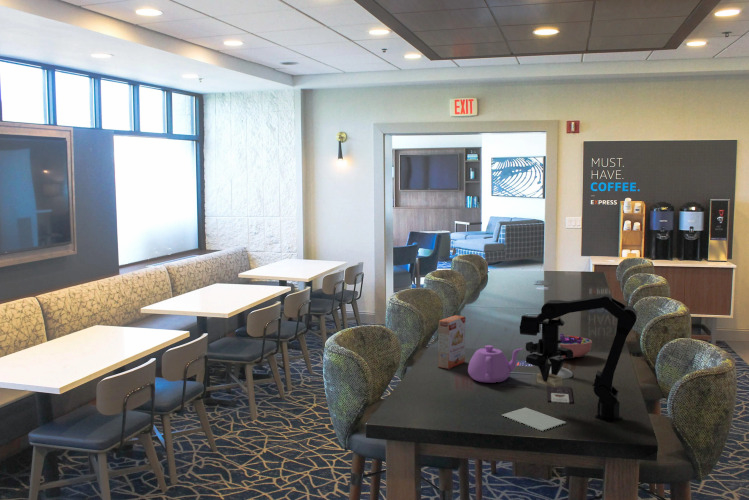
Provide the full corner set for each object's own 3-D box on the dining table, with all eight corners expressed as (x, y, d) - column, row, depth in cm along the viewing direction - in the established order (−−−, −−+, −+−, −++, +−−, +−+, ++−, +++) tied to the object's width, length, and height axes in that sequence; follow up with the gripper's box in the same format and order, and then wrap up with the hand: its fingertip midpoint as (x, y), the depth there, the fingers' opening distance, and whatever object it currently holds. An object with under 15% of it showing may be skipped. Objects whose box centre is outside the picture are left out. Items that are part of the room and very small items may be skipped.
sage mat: (566, 423, 231) (566, 422, 231) (541, 431, 224) (541, 430, 224) (525, 408, 246) (525, 407, 246) (501, 416, 239) (501, 414, 239)
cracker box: (449, 369, 295) (449, 321, 292) (437, 367, 298) (437, 320, 296) (465, 362, 306) (466, 316, 303) (454, 360, 309) (454, 314, 307)
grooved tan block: (562, 385, 240) (562, 376, 240) (554, 387, 238) (554, 378, 238) (544, 379, 247) (544, 371, 246) (536, 381, 244) (536, 373, 244)
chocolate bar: (571, 386, 268) (573, 402, 250) (571, 389, 268) (573, 404, 251) (547, 385, 270) (547, 400, 253) (547, 387, 270) (547, 403, 253)
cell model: (596, 362, 302) (597, 337, 301) (551, 363, 302) (551, 338, 301) (585, 352, 319) (586, 328, 318) (542, 353, 319) (542, 329, 318)
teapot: (522, 389, 268) (522, 354, 266) (466, 386, 272) (466, 352, 271) (521, 372, 289) (522, 340, 288) (469, 370, 294) (469, 338, 292)
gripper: (549, 328, 252) (549, 370, 254) (514, 336, 241) (513, 379, 243) (574, 334, 243) (573, 377, 245) (538, 342, 232) (538, 387, 234)
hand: (549, 380), depth 242 cm, fingers closed on grooved tan block, 4 cm apart
